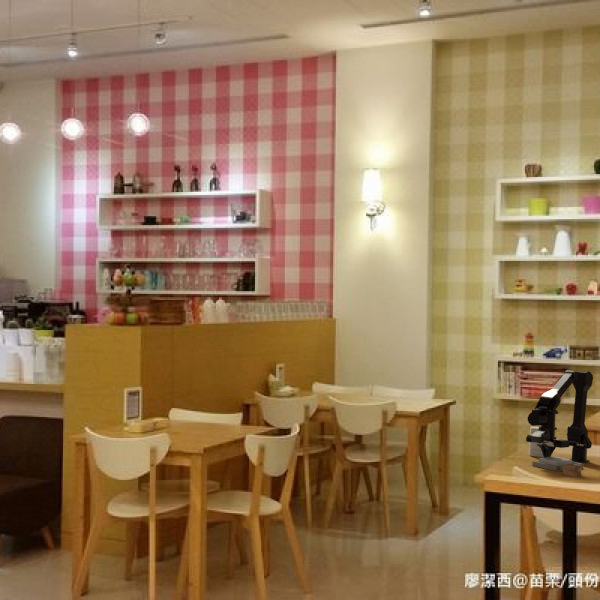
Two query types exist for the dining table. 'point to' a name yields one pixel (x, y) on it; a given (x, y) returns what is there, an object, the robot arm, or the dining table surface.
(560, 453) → the dining table surface
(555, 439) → the robot arm
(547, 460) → the carton
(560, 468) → the display bay
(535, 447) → the supplement box
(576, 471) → the walnut block
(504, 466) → the dining table surface
